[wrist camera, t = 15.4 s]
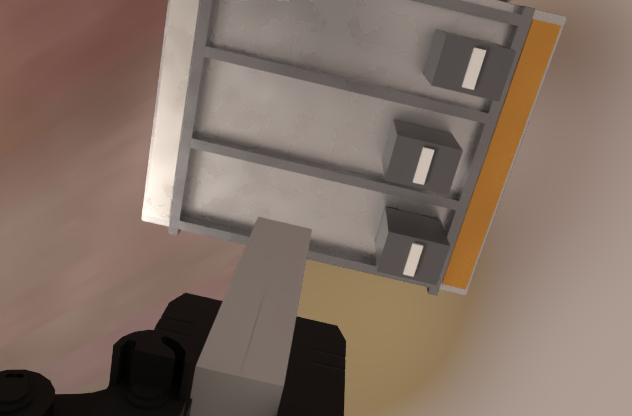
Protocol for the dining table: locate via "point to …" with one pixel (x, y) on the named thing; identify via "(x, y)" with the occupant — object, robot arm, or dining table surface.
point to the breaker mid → (421, 157)
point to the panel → (333, 120)
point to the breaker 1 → (411, 246)
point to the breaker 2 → (468, 65)
